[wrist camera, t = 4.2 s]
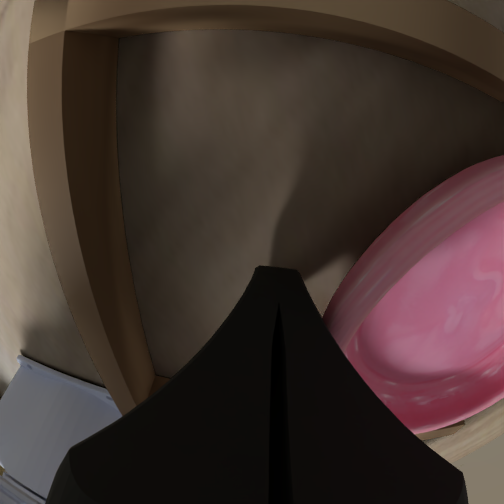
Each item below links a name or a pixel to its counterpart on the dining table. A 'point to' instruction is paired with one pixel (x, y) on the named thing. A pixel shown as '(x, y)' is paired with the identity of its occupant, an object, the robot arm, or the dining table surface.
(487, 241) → the saucer
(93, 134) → the wooden flat square frame
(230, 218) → the dining table surface
